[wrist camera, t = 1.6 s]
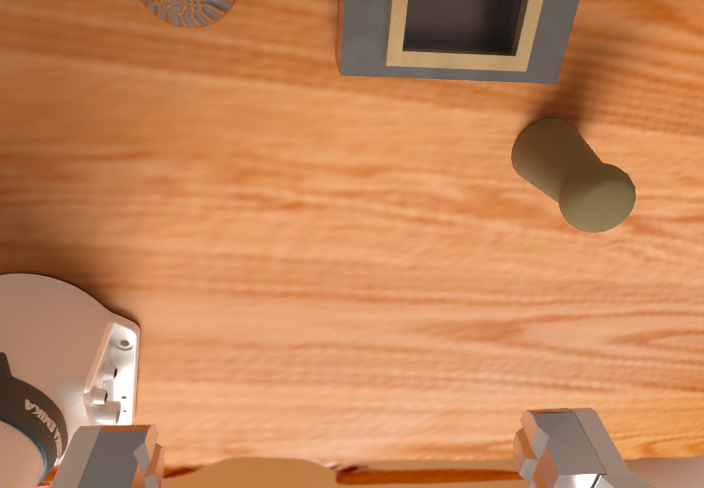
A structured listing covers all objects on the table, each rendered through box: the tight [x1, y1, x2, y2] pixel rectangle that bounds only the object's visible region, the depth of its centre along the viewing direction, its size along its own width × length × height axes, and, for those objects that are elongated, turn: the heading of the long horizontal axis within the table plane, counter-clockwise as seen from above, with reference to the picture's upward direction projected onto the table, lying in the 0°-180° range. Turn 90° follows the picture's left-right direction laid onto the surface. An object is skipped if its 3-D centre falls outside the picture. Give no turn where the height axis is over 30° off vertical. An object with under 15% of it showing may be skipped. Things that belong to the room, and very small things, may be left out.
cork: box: [511, 117, 636, 233], centre depth 41 cm, size 6×6×11 cm
